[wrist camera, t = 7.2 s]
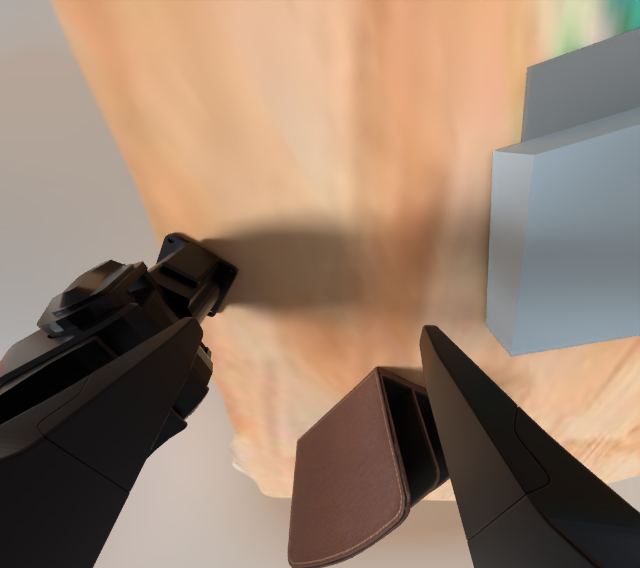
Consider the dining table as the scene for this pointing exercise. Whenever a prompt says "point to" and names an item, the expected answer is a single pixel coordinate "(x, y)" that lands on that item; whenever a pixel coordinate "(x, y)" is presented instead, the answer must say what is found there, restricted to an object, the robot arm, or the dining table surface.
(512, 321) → the blue slab
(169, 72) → the dining table surface
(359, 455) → the letter holder
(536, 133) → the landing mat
